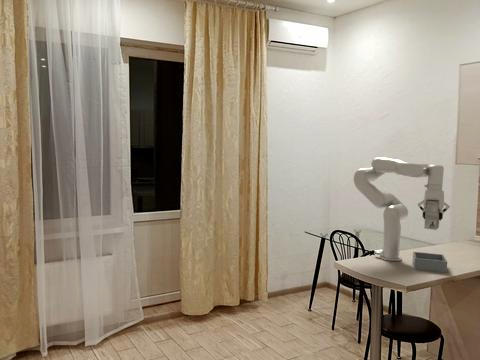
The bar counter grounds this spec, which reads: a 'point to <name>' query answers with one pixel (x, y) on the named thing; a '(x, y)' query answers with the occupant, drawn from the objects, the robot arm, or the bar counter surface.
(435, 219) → the coffee box
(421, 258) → the bin
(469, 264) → the bar counter surface
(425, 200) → the robot arm
